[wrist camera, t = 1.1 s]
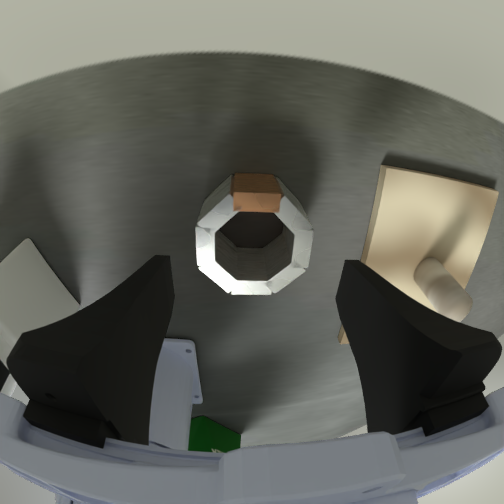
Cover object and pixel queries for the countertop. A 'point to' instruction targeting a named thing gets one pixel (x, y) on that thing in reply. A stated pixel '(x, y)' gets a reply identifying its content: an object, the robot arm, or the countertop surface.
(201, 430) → the milk carton
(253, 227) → the countertop surface
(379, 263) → the duct board
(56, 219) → the countertop surface
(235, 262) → the collar
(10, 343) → the medicine bottle
